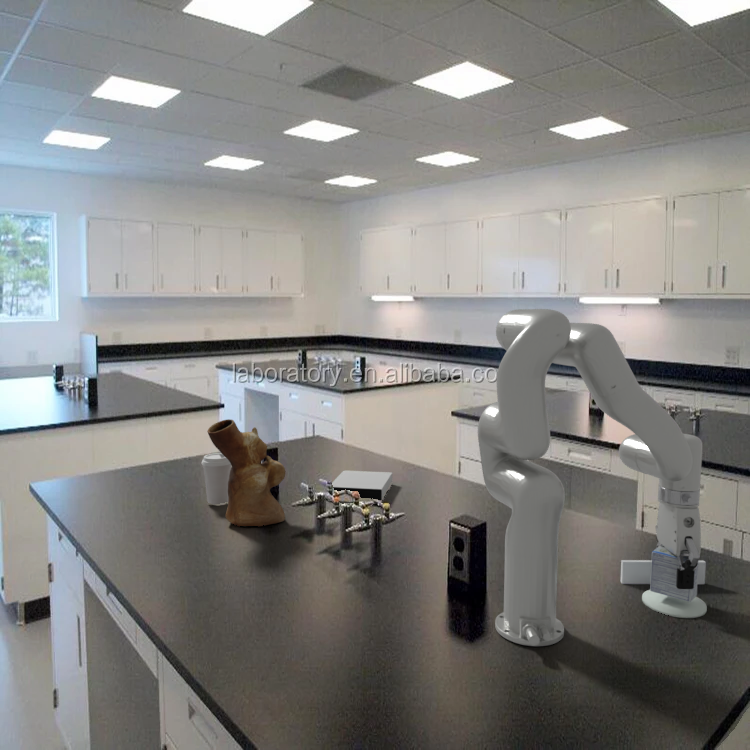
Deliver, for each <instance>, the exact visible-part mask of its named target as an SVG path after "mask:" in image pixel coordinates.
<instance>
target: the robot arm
mask: <svg viewBox="0 0 750 750" xmlns="http://www.w3.org/2000/svg"><path fill="white" fill-rule="evenodd" d="M568 318H569V317H567V316H566V315H565V314H564V313H563V312H560V311H558V310H554V309H550V308H549V309H548V308H530V309H529V308H525V309H524V308H523V309H513V310H510V311H508V312H506V313H504V314H503V315H502V316H501V317H500V318H499V320H498V322H497V325H496V327H495V328H496V329H495V336H496V339H497V341H498V343H499V346H501V348H503V349H504V350H505V351H506V352H505V353H504V355H503V357H502V358H501V361H500V363H499V366H498V369H497V373H496V395H497V397H496V398H497V401H496V402H494V403H490V404H489V405H488V406H486V408H485V409H484V410H483V411H482V412H481V415H480V417H479V419H478V420H479V421H478V425H477V440H478V448H479V457H480V461H481V471H482V477H483V481H484V482H483V483H484V485H485V487H486V489H487V491H488V493H489V495H491V497H492V498H493V499H495V500H496V501H498V502H500V503H501V504H503V505H504V506H507V507H508V508H510V509H511V516H510V518H509V521H508V524H507V526H506V529H505V537H504V580H503V583H504V584H503V585H504V586H503V587H504V588H503V611H502V612H501V613H499V614H498V615H497V616H496V617H495V622H494V623H495V624H494V626H495V629H496V632H497V633H498V634H499V635H500V636H501V637H503V638H504V639H506V640H508V641H509V642H513V643H515V644H518V645H522V646H528V647H547V646H551V645H553V644H557V643H559V641H561V640H562V639H563V638H564V635H565V627H564V624H563V623H562V621H561V620H559V619H558V618H557V587H558V586H557V585H558V582H557V581H558V559H559V558H558V555H559V553H558V548H559V532H560V531H559V530H560V523H561V522H560V521H561V517H562V514H563V513H562V512H563V509H564V505H565V499H566V497H565V496H566V494H565V493H566V492H565V488H564V487H565V486H564V485H563V483H562V481H561V479H560V478H559V476H558V475H556V473H554V472H553V471H551V470H550V469H549V468H547V467H544V466H542V465H540V464H538V463H536V462H532V461H535V460H539V459H540V458H542V457H544V456H545V455H546V453H547V452H548V450H549V448H550V444H551V429H550V421H549V413H548V406H547V398H546V377H547V373H548V371H549V369H550V367H551V365H552V364H555V365H560V366H561V365H562V366H568V367H574V368H575V369H576V370H577V372H578V373H579V375H580V377H581V378H582V381H583V382H584V384H585V386H586V388H587V389H588V392H589V393H590V395H591V397H592V399H593V400H594V403H595V404H596V406H597V407H598V408H599V410H601V411H602V412H603V413H604V414H606V415H607V417H609V418H611V419H613V420H614V421H616V422H617V423H619V424H621V425H622V426H624V427H625V428H627V429H629V430H630V431H631V432H632V433H633V434H631V435H629V436H627V437H625V438H624V439H623V440H622V441H621V443H620V445H619V447H618V457H619V459H620V461H621V462H622V463H623V464H624V465H625V466H626V467H627V468H629V469H631V470H633V471H635V472H638V473H642V474H645V475H649V476H652V477H654V478H657V479H658V492H657V501H658V503H659V505H658V508H657V509H658V510H657V518H656V519H657V520H656V525H655V532H656V537H655V539H656V542H657V544H656V548H658V547H659V546H661V547H665V548H667V549H668V550H669V551H670V552H672V553H673V554H674V555H676V556H677V560H678V564H679V568H677V579H676V587H677V588H678V589H693V588H694V573H695V570H696V566H697V564H698V561H699V560H700V555H701V544H702V543H701V542H702V539H701V538H702V536H701V535H702V534H701V533H702V532H701V530H702V528H701V515H700V508H699V506H700V498H701V497H700V496H701V495H700V493H701V479H702V478H701V476H702V461H703V460H702V458H703V442H702V439H700V437H699V436H696V435H693V434H689V433H683V431H682V429H681V428H680V425H678V423H677V422H676V421H675V419H674V418H673V417H672V416H671V414H670V413H668V412H667V411H666V410H665V408H663V407H662V406H661V404H659V403H658V402H657V401H656V400H655V399H654V398H653V397H652V396H651V395H650V394H649V393H647V391H645V390H644V389H643V388H642V387H641V385H640V383H639V382H638V380H637V378H636V376H635V374H634V372H633V371H632V369H631V366H630V364H629V362H628V360H627V358H626V356H625V355H624V353H623V351H622V350H621V347H620V346H619V344H618V341H617V340H616V338H615V336H614V334H613V333H612V331H611V330H610V329H608V328H607V327H606V326H604V325H602V324H597V323H590V322H570V321H569V319H568ZM680 551H683V552H687V553H680ZM683 558H688V559H689V560H686V561H685V562H683Z"/></svg>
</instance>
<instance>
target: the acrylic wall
mask: <svg viewBox="0 0 750 750" xmlns="http://www.w3.org/2000/svg"><path fill="white" fill-rule="evenodd" d="M620 562H621V563H620V583H621V584H622V585H651V562H652V559H651V560H649V559H646V560H645V559H640V560H639V559H636V560H635V559H621V560H620ZM706 563H707V562H706V561H705V560H700V559H699V561H698V581H697V585H705V582H706V581H705V580H706V568H707V567H706V566H707V564H706Z"/></svg>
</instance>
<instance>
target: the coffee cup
mask: <svg viewBox="0 0 750 750" xmlns="http://www.w3.org/2000/svg"><path fill="white" fill-rule="evenodd" d="M200 463H201V465H202V468H203V469H202V470H203V476H204V483H205V484H204V485H205V492H206V502H208V503H211V504H220V503H225V502H228V481H229V475H230V470H231V467H232V465H231V463H230V462H229V460H228V459H227V458H226V457H225V456H224V455H223V454H222V453H221V452H217V453H210V454H206V455H203V458H202V460H201V462H200ZM208 503H207V504H208Z"/></svg>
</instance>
